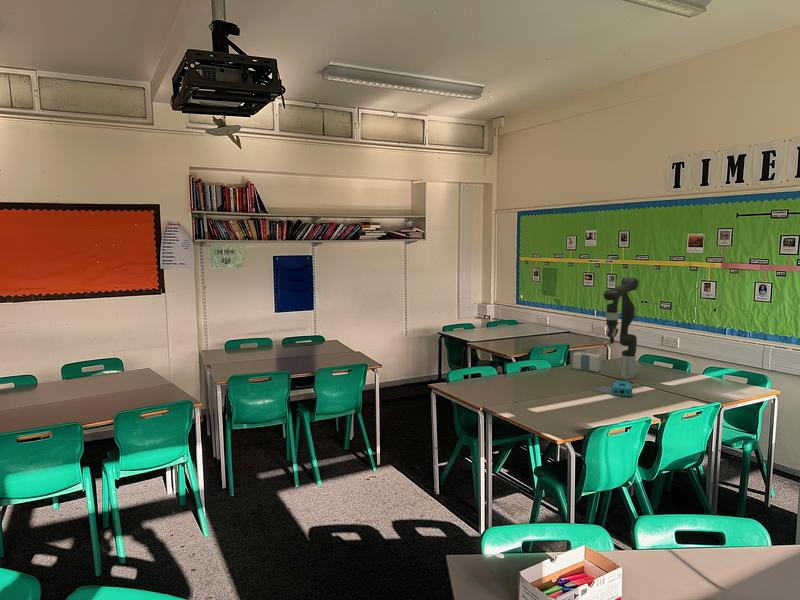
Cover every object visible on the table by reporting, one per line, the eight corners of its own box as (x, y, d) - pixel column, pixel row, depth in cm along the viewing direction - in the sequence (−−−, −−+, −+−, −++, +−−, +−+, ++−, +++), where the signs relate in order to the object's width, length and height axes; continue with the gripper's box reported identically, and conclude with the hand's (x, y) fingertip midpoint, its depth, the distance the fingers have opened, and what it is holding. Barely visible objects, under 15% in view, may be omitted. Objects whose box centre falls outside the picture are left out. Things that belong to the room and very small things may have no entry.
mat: (604, 386, 392) (604, 385, 392) (627, 391, 378) (627, 390, 378) (591, 390, 384) (591, 389, 384) (615, 395, 369) (615, 394, 369)
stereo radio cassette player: (572, 369, 446) (572, 345, 444) (576, 367, 452) (576, 343, 450) (598, 373, 433) (598, 347, 431) (601, 371, 439) (602, 346, 437)
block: (631, 381, 382) (632, 389, 364) (631, 388, 383) (631, 396, 364) (613, 380, 387) (612, 387, 368) (613, 387, 387) (612, 394, 369)
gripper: (612, 316, 396) (612, 340, 398) (601, 319, 388) (601, 343, 390) (622, 317, 390) (622, 342, 392) (611, 320, 382) (611, 345, 384)
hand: (612, 342), depth 391 cm, fingers closed
